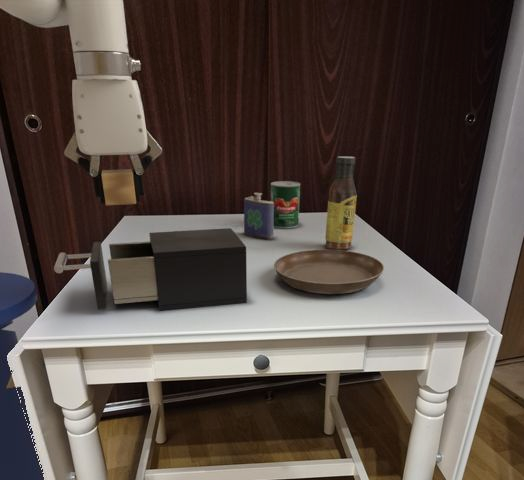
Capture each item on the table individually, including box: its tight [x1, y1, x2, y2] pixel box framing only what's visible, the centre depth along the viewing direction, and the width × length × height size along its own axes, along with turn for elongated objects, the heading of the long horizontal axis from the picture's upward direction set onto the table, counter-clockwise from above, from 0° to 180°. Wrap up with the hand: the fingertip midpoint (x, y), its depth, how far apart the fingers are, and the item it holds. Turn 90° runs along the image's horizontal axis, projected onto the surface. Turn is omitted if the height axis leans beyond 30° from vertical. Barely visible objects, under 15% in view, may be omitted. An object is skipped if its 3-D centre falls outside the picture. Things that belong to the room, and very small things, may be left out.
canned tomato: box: [270, 180, 301, 229], centre depth 130 cm, size 8×8×11 cm
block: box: [101, 168, 137, 206], centre depth 76 cm, size 5×5×5 cm
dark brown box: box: [149, 227, 248, 312], centre depth 84 cm, size 15×13×10 cm
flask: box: [243, 192, 275, 241], centre depth 119 cm, size 9×3×11 cm, turn 49°
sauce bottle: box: [325, 155, 358, 251], centre depth 109 cm, size 7×6×20 cm
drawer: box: [53, 240, 158, 310], centre depth 81 cm, size 19×12×8 cm, turn 105°
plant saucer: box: [273, 249, 385, 295], centre depth 92 cm, size 21×21×3 cm
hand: (120, 199), depth 77 cm, fingers closed on block, 4 cm apart
